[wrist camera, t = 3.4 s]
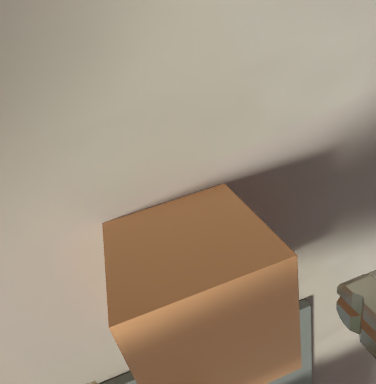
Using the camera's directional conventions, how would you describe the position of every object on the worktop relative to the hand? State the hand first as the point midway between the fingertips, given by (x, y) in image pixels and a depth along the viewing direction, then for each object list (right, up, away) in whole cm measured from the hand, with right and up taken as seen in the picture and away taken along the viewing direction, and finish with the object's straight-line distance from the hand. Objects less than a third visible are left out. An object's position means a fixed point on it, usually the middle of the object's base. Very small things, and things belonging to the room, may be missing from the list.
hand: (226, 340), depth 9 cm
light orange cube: (-2, +2, +3) cm, 4 cm away
